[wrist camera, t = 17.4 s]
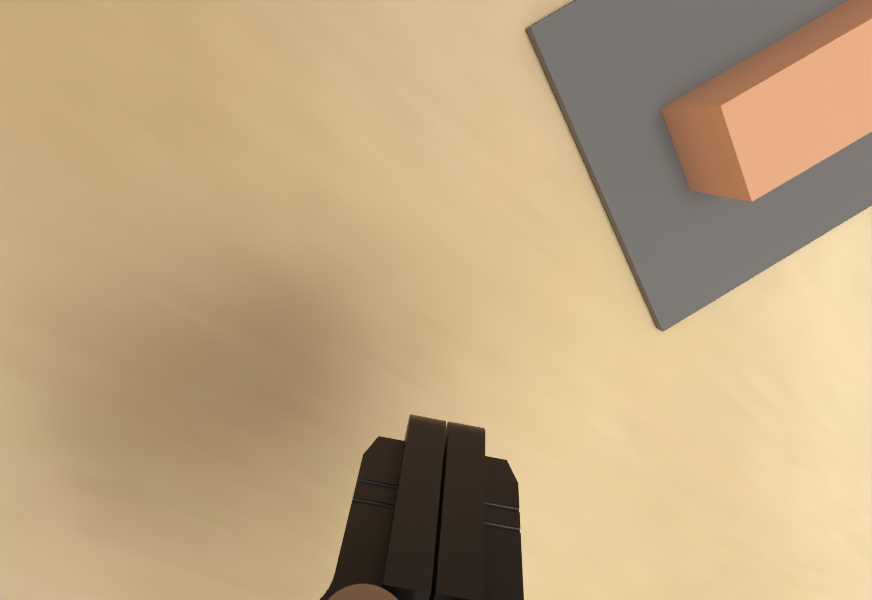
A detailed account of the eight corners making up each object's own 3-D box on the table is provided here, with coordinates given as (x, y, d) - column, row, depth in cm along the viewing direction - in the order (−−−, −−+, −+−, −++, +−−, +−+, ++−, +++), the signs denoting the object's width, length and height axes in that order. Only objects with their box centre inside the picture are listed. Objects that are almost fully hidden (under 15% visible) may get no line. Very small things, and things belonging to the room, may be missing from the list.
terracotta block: (720, 105, 25) (964, -36, 25) (660, 108, 29) (870, -13, 29) (752, 201, 26) (981, 66, 27) (690, 190, 31) (889, 74, 31)
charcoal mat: (525, 29, 27) (530, 27, 27) (858, -166, 28) (870, -172, 27) (656, 328, 33) (662, 331, 33) (931, 162, 34) (941, 162, 33)
